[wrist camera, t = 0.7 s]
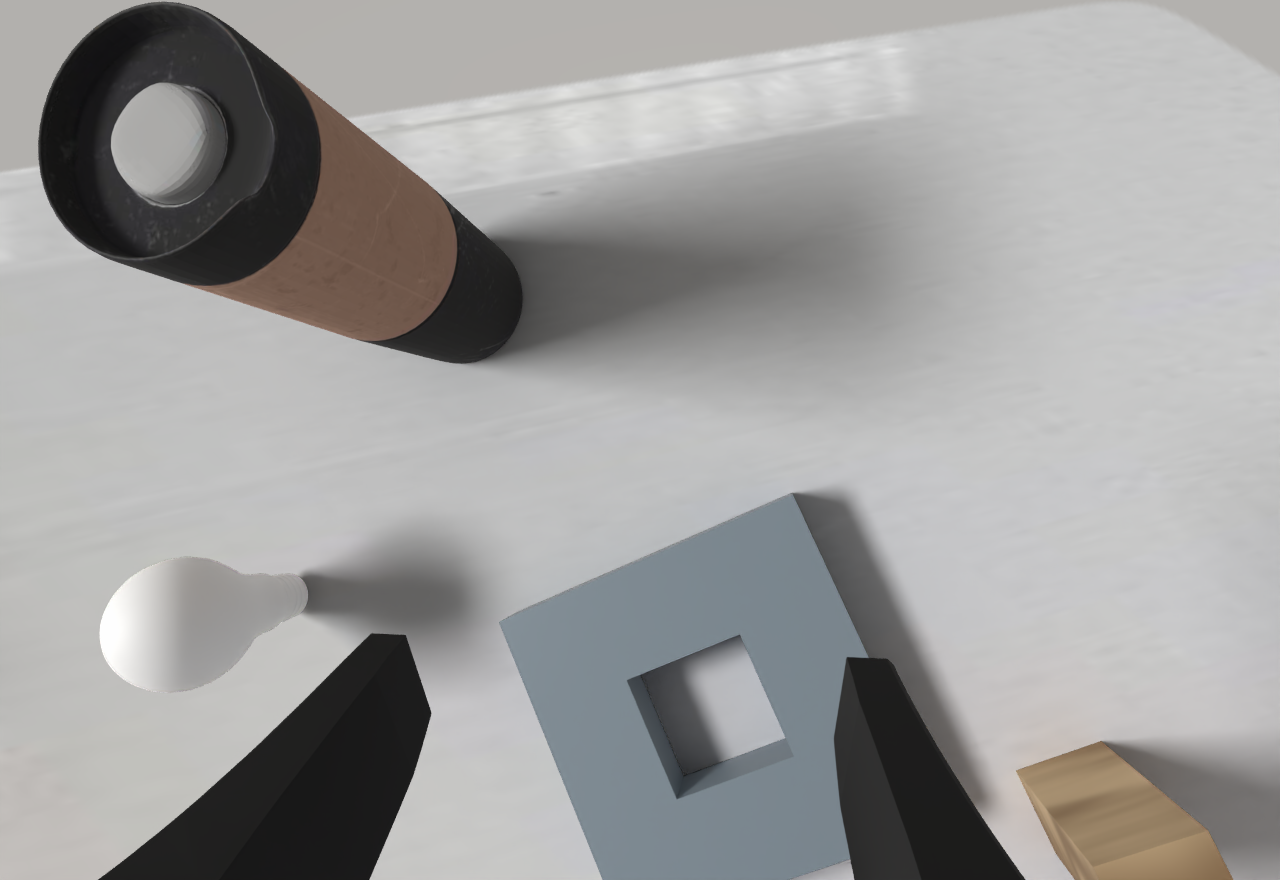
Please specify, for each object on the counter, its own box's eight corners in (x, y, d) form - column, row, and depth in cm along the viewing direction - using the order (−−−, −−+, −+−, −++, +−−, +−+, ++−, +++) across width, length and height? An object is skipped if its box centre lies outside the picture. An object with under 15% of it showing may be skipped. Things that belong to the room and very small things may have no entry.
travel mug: (379, 281, 40) (-5, 99, 20) (488, 208, 39) (193, -60, 19) (439, 394, 39) (95, 319, 19) (552, 322, 38) (311, 165, 18)
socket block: (934, 799, 33) (947, 825, 31) (635, 903, 36) (624, 935, 33) (791, 493, 35) (792, 494, 32) (517, 612, 37) (499, 622, 35)
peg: (1143, 825, 31) (1266, 944, 23) (1056, 853, 32) (1147, 979, 24) (1101, 740, 32) (1208, 830, 24) (1015, 770, 32) (1093, 867, 25)
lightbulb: (308, 518, 40) (136, 537, 29) (364, 605, 39) (209, 658, 28) (234, 580, 41) (40, 620, 30) (287, 667, 40) (107, 741, 29)
